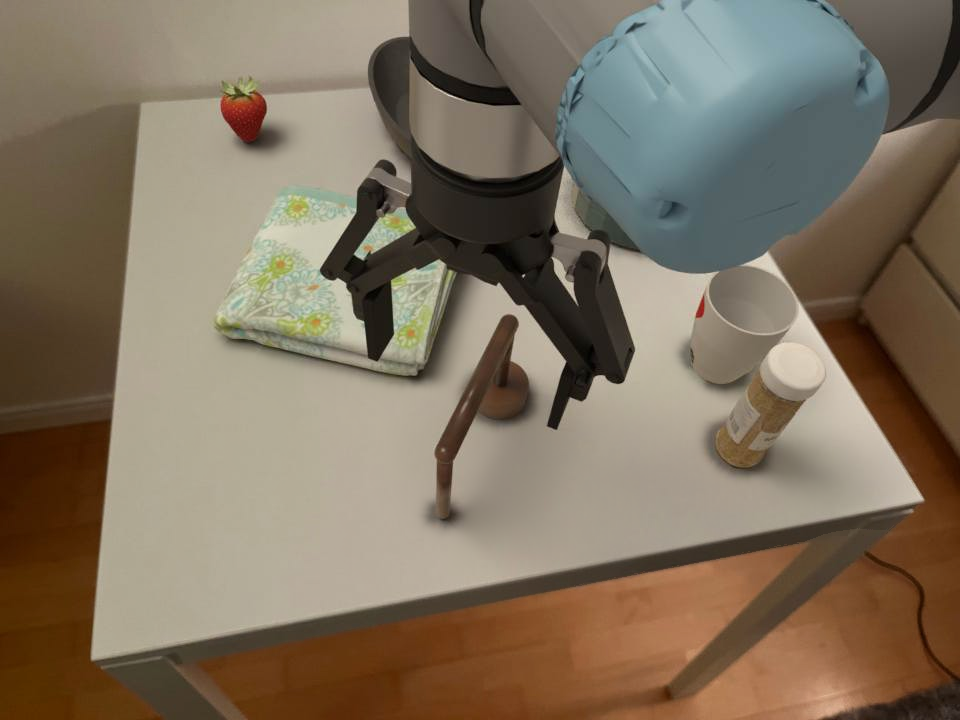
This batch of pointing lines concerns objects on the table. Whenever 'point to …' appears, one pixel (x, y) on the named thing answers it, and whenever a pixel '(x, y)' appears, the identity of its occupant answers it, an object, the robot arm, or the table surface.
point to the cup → (740, 322)
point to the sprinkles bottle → (770, 403)
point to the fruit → (243, 108)
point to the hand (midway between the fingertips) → (467, 379)
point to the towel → (328, 287)
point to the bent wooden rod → (481, 403)
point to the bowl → (392, 88)
